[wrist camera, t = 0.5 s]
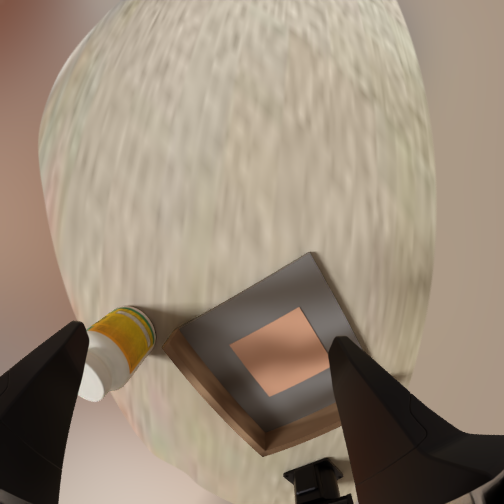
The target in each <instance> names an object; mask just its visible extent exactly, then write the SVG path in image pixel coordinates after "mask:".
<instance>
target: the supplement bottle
mask: <svg viewBox="0 0 504 504" xmlns="http://www.w3.org/2000/svg"><path fill="white" fill-rule="evenodd" d="M86 331H87V334H88V336H89V341H90V342H89V348H88V352H87V357H86V362H85V367H84V373H83V377H82V381H81V385H80V388H79V392H78V395H79V396H80V397H82V398H84V399H86V400H88V401H92V402H98V401H100V400H102V399H103V398H104V397H105V395H106V394H107V393H108V392H109V391H115V390H118V389H120V388H122V387H123V386H124V385H125V384H126V383H127V382H128V380H129V379H130V378H131V377H132V375H133V374H134V373H135V371H136V370H137V368H138V367H139V366H140V365H141V363H142V362H143V361H144V359H145V358H146V357H147V356H148V354H149V353H150V352H151V350H152V349H153V347H154V345H155V340H156V335H155V331H154V327H153V325H152V323H151V321H150V320H149V318H148V317H147V316H146V315H145V314H144V313H143V312H141V311H140V310H138V309H136V308H134V307H130V306H122V307H118V308H116V309H115V310H113V311H112V312H110V313H109V314H108V315H106V316H105V317H103V318H102V319H101V320H99V321H98V322H96V323H95V324H94V325H92V326H91V327H90V328H88V329H87V330H86Z"/></svg>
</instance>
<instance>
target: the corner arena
mask: <svg viewBox="0 0 504 504" xmlns="http://www.w3.org/2000/svg"><path fill="white" fill-rule="evenodd" d="M344 335H345V336H347V337H349V338H350V339H351V340H352V341H353V342H354V343H355V344H356V345H358V346H359V347H360V348H361V346H360V344H359V342H358V340H357V338H356V336H355V334H354V332H353V330H352V328H351V326H350V324H349V323H348V321H347V319H346V317H345V315H344V313H343V311H342V309H341V308H340V306H339V304H338V302H337V300H336V298H335V297H334V295H333V293H332V291H331V289H330V287H329V286H328V284H327V282H326V280H325V279H324V277H323V275H322V273H321V271H320V270H319V268H318V266H317V264H316V263H315V261H314V259H313V257H312V256H311V254H310V253H309V252H308V253H306V254H304V255H303V256H301V257H299V258H298V259H296V260H295V261H293V262H291V263H290V264H288V265H286V266H285V267H283V268H281V269H280V270H278V271H276V272H275V273H273V274H271V275H269V276H268V277H266V278H264V279H263V280H261V281H259V282H258V283H256V284H254V285H252V286H251V287H249V288H247V289H246V290H244V291H242V292H240V293H239V294H237V295H235V296H234V297H232V298H230V299H228V300H227V301H225V302H223V303H221V304H220V305H218V306H216V307H214V308H213V309H211V310H209V311H207V312H206V313H204V314H202V315H200V316H198V317H197V318H195V319H193V320H191V321H190V322H188V323H186V324H184V325H182V326H181V327H179V328H177V329H175V330H174V331H173V332H172V334H171V335H170V336H169V338H168V339H167V341H166V342H165V343H164V345H163V346H162V349H163V350H164V351H165V353H166V354H167V355H168V356H169V358H170V359H171V360H172V361H173V363H174V364H175V365H176V366H177V368H178V369H179V370H180V371H181V373H182V374H183V375H184V376H185V377H186V379H187V380H188V381H189V382H190V383H191V384H192V386H193V387H194V388H195V389H196V390H197V391H198V393H199V394H200V395H201V396H202V397H203V398H204V399H205V400H206V401H207V403H208V404H209V405H210V406H211V407H212V408H213V409H214V410H215V411H216V412H217V413H218V414H219V415H220V416H221V417H222V419H223V420H224V421H225V422H226V423H227V424H228V425H229V426H230V427H231V428H232V429H233V430H234V431H235V432H236V433H237V434H238V435H239V436H240V437H242V438H243V439H244V440H245V441H246V442H247V443H248V444H249V445H250V446H251V447H252V448H253V449H254V450H255V451H256V452H258V453H259V454H260V455H261V456H262V457H264V456H267V455H270V454H273V453H276V452H279V451H282V450H285V449H288V448H290V447H293V446H296V445H298V444H301V443H303V442H306V441H308V440H311V439H313V438H316V437H318V436H320V435H322V434H325V433H327V432H329V431H331V430H333V429H336V428H338V427H340V426H342V425H341V421H340V417H339V413H338V409H337V405H336V401H335V397H334V393H333V387H332V380H331V373H330V366H329V359H328V352H329V349H330V347H331V344H332V342H333V339H334V338H335V337H336V336H344ZM361 349H362V348H361Z"/></svg>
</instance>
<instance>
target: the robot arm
mask: <svg viewBox="0 0 504 504" xmlns="http://www.w3.org/2000/svg"><path fill="white" fill-rule="evenodd" d="M89 342H90V341H89V336H88V334H87V331H86V328H85V326H84V324H83V323H82V322H79V321H72V322H70V323H69V324H67V325H66V326H65V327H63V328H62V329H61V330H59V331H58V332H57V333H55V334H54V335H53V336H51V337H50V338H49V339H47V340H46V341H45V342H43V343H42V344H41V345H39V346H38V347H37V348H36V349H34V350H33V351H32V352H31V353H29V354H28V355H27V356H25V357H24V358H23V359H22V360H20V361H19V362H18V363H17V364H15V365H14V366H13V367H12V368H10V369H9V370H8V371H7V372H5V373H4V374H3V375H2V376H0V504H58V501H59V490H60V482H61V474H62V466H63V459H64V454H65V448H66V442H67V438H68V433H69V428H70V424H71V419H72V415H73V411H74V407H75V403H76V399H77V396H78V392H79V388H80V385H81V381H82V377H83V373H84V367H85V362H86V357H87V352H88V348H89ZM328 359H329V366H330V373H331V380H332V387H333V393H334V397H335V401H336V405H337V409H338V413H339V417H340V421H341V425H342V429H343V433H344V438H345V442H346V446H347V450H348V455H349V459H350V464H351V468H352V473H353V477H354V482H355V488H356V492H357V497H358V502H359V504H504V435H479V434H478V435H477V434H468V433H465V432H462V431H460V430H459V429H457V428H455V427H454V426H453V425H451V424H450V423H448V422H447V421H446V420H444V419H443V418H441V417H440V416H438V415H437V414H436V413H435V412H433V411H432V410H431V409H429V408H428V407H427V406H425V405H424V404H423V403H422V402H421V401H419V400H418V399H417V398H416V397H415V396H414V395H413V394H410V392H409V391H408V390H407V389H406V388H405V387H404V386H403V385H401V384H400V383H399V382H398V381H397V380H396V379H395V378H394V377H392V376H391V375H390V374H389V373H388V372H387V371H386V370H385V369H383V368H382V367H381V366H380V365H379V364H378V363H377V362H376V361H374V360H373V359H372V358H371V357H370V356H369V355H368V354H367V353H365V352H364V351H363V350H362V349H361V348H360V347H359V346H358V345H356V344H355V343H354V342H353V341H352V340H351V339H350V338H349V337H347V336H345V335H344V336H336V337H335V338H334V339H333V342H332V344H331V347H330V349H329V352H328ZM283 477H284V478H286V479H287V480H288V481H289V482H291V483H292V484H293V485H294V492H295V504H354V503H353V500H352V496H351V493H350V494H347V495H346V496H342V497H340V493H339V488H338V484H337V480H338V479H340V478H342V477H343V474H342V473H341V472H340V470H339V469H338V468H337V467H336V466H335V465H334V464H333V463H332V462H331V461H330V460H329V459H328V458H325V459H322V460H319V461H317V462H314V463H312V464H309V465H306V466H303V467H301V468H298V469H295V470H292V471H289V472H286V473H284V474H283Z"/></svg>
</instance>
